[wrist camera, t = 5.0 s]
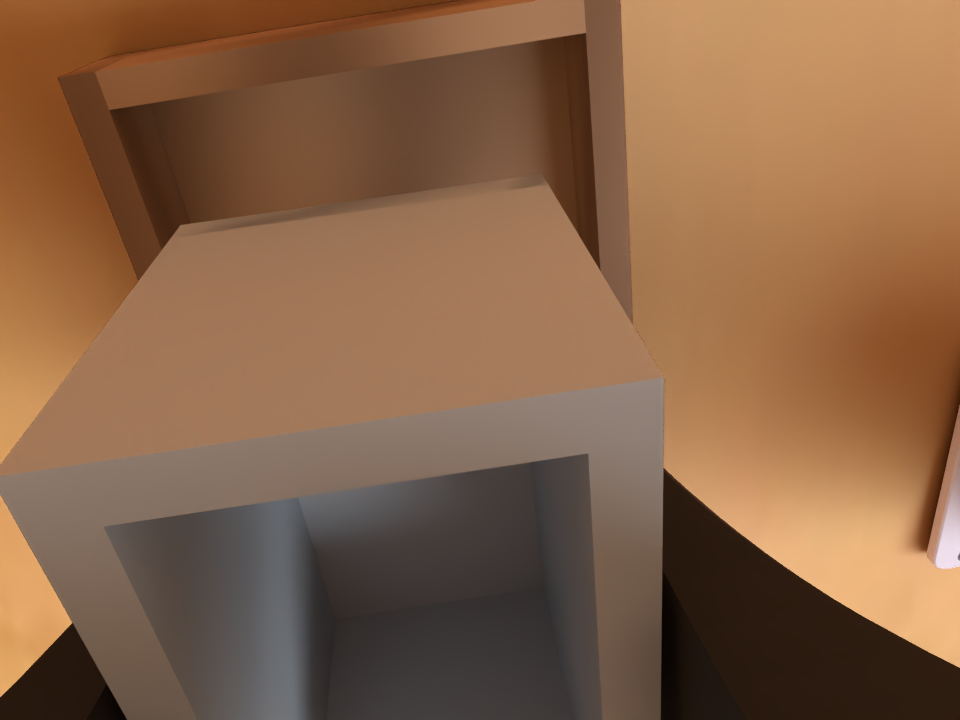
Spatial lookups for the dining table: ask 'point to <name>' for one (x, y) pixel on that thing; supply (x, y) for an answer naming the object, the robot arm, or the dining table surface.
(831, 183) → the dining table surface
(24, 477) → the small crate
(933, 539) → the robot arm
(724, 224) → the dining table surface
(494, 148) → the walnut crate
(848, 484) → the dining table surface
